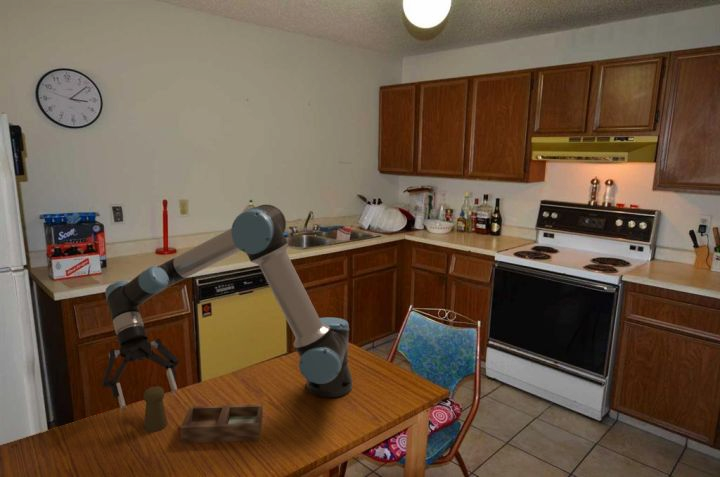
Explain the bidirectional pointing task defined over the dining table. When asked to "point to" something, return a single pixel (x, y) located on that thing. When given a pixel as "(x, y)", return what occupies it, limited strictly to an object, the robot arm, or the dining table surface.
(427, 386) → the dining table surface
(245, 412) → the stand
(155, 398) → the cork
